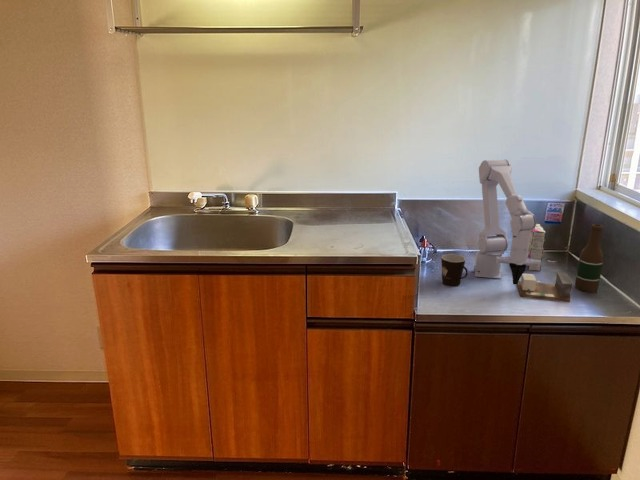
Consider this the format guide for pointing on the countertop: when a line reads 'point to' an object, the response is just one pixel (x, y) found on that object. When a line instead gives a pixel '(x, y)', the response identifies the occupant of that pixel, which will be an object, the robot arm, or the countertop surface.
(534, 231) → the candy bar box
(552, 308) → the countertop surface
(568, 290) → the frame
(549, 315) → the countertop surface
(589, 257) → the beer bottle
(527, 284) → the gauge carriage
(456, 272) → the coffee mug
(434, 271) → the countertop surface
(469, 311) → the countertop surface
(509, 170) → the robot arm
